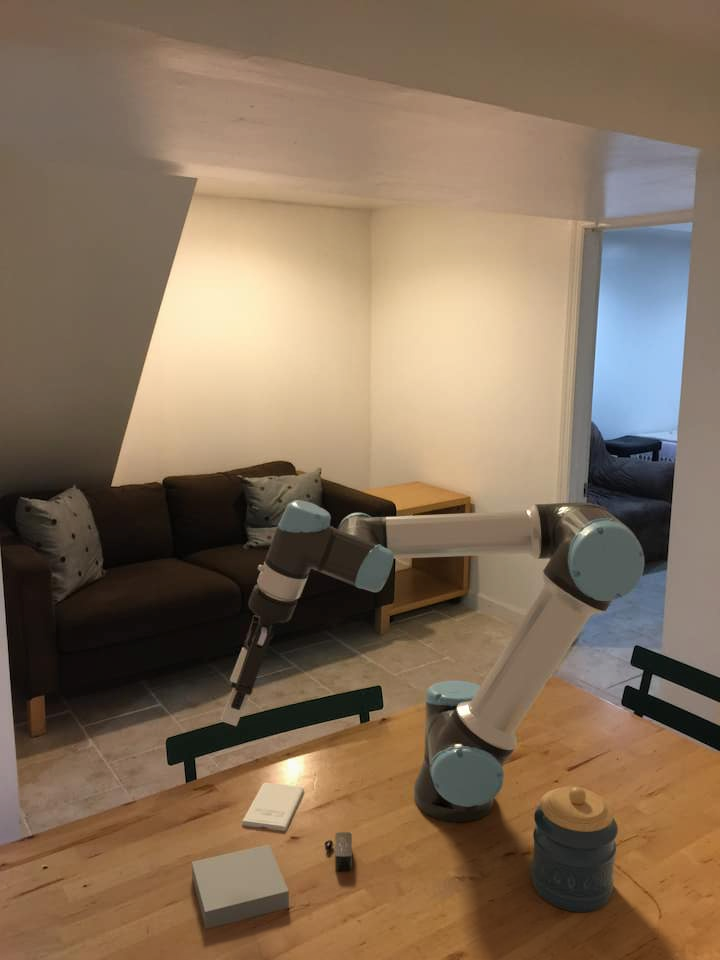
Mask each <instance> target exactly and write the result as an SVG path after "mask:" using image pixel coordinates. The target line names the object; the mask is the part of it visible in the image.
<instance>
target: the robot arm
mask: <svg viewBox="0 0 720 960" xmlns="http://www.w3.org/2000/svg"><path fill="white" fill-rule="evenodd" d="M331 516H332V515H331V514H330V512H328V511H327V509H324V508H323V507H320V506H319V505H317V504H315V503H312V502H309V501H305V500H301V499H297V500H293V501H291V502H290V501H289V503H287V505H286V507H285V509H284V512H283V514H282V516H281V517H280V520H279V522H278V525H277V527H276V530H275V533H274V535H273V537H272V541H271V543H270V546H269V549H268V551H267V554H266V556H265V559H264V562H263V564H258V566H257V570H258V571H259V572H260V573H259V574H258V577H257V580H256V582H257V584H255V585H254V587H253V589H252V590H251V591H252V592H251V593H250V594H251V595H250V596H249V599H248V601H247V602H248V607H249V609H250V611H252V613H254V614H253V617H252V619H251V623H250V626H249V629H248V632H247V633H246V634H245V640H244V642H243V646H244V647H242V648H241V650H240V653H239V655H238V658H237V660H236V663H235V666H234V668H233V671H232V673H231V675H230V678H229V681H230V682H231V683H230V688H232V690H231V693H230V696H229V697H228V699H227V703H226V705H225V708H224V710H223V712H222V715H221V718H220V722H222V723H226V724H228V725H232V726H235V727H237V726H238V723H239V721H240V719H241V716H242V713H243V711H244V709H245V706H246V704H247V701H248V698H249V696H251V694H252V693H253V688H254V685H255V683H256V679H257V677H258V675H259V671H260V669H261V665H262V662H263V660H264V658H265V657H264V656H265V654H266V653H267V651H268V648H269V646H270V643H271V640H272V639H273V637H274V635H275V633H276V628H275V627H276V625H277V623H287V622H288V621H290V619H292V617H293V613H294V611H295V609H296V606H297V605H298V599H299V598H301V595H302V594H303V590H304V587H305V585H306V583H307V580H308V578H309V574H310V571H311V569H312V570H313V571H317V572H319V573H322V574H324V575H327V576H329V577H332V578H334V579H337V580H340V581H342V582H345V583H347V584H349V585H352V586H354V587H355V588H358V589H362V590H366V591H369V592H372V593H379V592H380V591H381V590H382V589H383V587H384V586H385V584H386V583H387V580H388V579H389V575H390V573H391V570H392V567H393V563H394V559H416V558H419V559H421V558H443V557H445V558H447V557H467V556H468V557H469V556H470V557H471V556H472V557H473V556H474V557H475V556H495V555H496V556H498V555H521V554H522V555H526V554H529V555H530V556H531V557H532V558H534V559H536V560H540V559H542V560H544V559H546V560H547V559H549V561H548V562H547V564H546V565H545V567H544V569H543V570H542V572H541V573H542V578H543V582H544V586H543V588H542V590H541V592H540V593H539V595H537V597H536V599H535V600H534V602H533V603H532V605H531V606H530V609H529V610H528V611H527V613H526V615H525V617H523V619H522V621H521V622H520V624H519V625H518V627H517V628H516V631H514V633H513V634H512V637H511V638H510V639H509V641H508V643H507V644H506V645H505V648H504V649H503V650H502V652H501V654H500V655H499V657H498V659H497V660H496V662H494V664H493V666H492V668H491V670H490V671H489V673H488V674H487V675H486V677H485V679H484V681H483V682H482V684H481V685H480V684H477V683H474V682H471V681H464V680H444V681H439V682H436V683H433V684H431V685H430V686H429V687H428V688H427V690H426V694H425V700H424V703H425V722H424V723H425V724H424V725H425V726H424V754H423V756H424V757H423V758H424V759H423V761H422V763H421V765H420V766H421V767H420V769H419V771H418V774H417V777H416V779H415V782H414V786H413V789H414V790H413V798H414V803H415V804H416V806H417V807H418V808H419V809H420V810H421V811H422V812H424V814H426V815H428V816H430V817H432V818H433V819H437V820H440V821H444V822H448V823H450V822H451V823H467V822H473V821H477V820H479V819H481V818H483V817H485V816H486V815H488V814H489V813H490V812H491V810H492V809H493V808H494V802H495V801H494V800H495V798H496V797H497V796H498V794H499V793H500V792H501V790H502V787H503V785H504V779H505V778H504V777H505V774H504V769H503V767H504V765H505V764H506V763H507V761H508V759H509V758H510V757H511V755H512V753H513V752H514V750H515V749H516V747H517V746H518V741H517V737H516V733H515V731H516V729H517V728H518V727H519V725H520V723H521V722H522V721H523V719H524V717H526V715H527V713H528V712H529V710H530V708H531V707H532V706H533V704H534V702H535V701H536V699H538V696H539V695H540V694H541V691H543V689H544V687H545V686H546V684H547V683H548V681H549V680H550V678H551V676H552V675H553V673H554V672H555V670H556V669H557V668H558V666H559V664H560V663H561V661H562V660H563V658H564V657H565V656H566V654H567V652H568V650H570V647H571V646H572V644H573V643H574V641H575V640H576V638H578V636H579V634H580V632H581V631H582V629H583V628H584V626H585V625H586V624H587V622H588V620H589V619H590V617H591V616H594V615H598V614H603V613H606V611H607V609H608V608H609V607H610V605H611V604H612V602H613V601H615V600H618V599H619V598H624V597H626V596H627V595H629V594H630V593H631V592H632V591H633V590H634V589H635V588H636V587H637V585H638V584H639V583H640V581H641V578H642V576H643V574H644V568H645V554H644V549H643V548H642V545H641V544H640V541H639V540H638V538H637V537H636V534H635V533H634V532H633V531H632V530H631V529H630V527H628V526H627V525H626V524H624V523H623V522H622V521H621V520H619V519H618V518H617V517H615V515H613V513H611V512H610V511H609V510H608V509H606V508H605V507H603V506H601V505H598V504H595V503H591V502H581V501H579V502H555V503H543V504H542V503H538V504H531V505H530V507H529V508H527V509H526V510H514V511H513V510H511V511H490V512H489V511H488V512H467V513H465V512H463V513H446V514H444V513H443V514H442V513H441V514H423V515H419V514H418V515H403V516H402V515H400V516H370V515H369V514H367V513H364V512H352V513H350V514H348V515H347V516H345V517H344V518H343V519H342V520H341V522H340V524H339V525H338V527H337V528H335V527H334V526H332V525H331V520H332V519H331V518H332V517H331Z"/></svg>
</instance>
